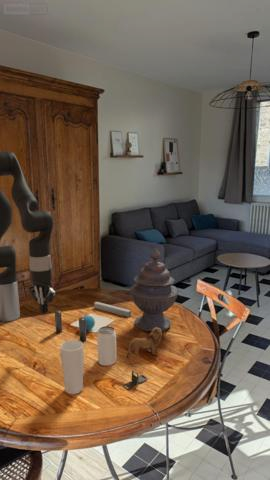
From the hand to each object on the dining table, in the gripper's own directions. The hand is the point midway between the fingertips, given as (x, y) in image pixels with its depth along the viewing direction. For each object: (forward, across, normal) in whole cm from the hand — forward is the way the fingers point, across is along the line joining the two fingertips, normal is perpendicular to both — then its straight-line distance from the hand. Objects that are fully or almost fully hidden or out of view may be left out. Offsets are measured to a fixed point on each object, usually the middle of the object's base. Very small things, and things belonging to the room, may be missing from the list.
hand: (44, 312), depth 126 cm
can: (+15, +24, +6) cm, 29 cm away
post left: (+15, -6, +13) cm, 21 cm away
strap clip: (+16, +39, +1) cm, 42 cm away
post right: (+15, +7, +13) cm, 21 cm away
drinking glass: (+15, +25, -12) cm, 32 cm away
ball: (+12, +2, +21) cm, 24 cm away
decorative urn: (+15, +24, +39) cm, 48 cm away
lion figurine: (+15, +32, +18) cm, 40 cm away
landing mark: (+15, 0, +27) cm, 31 cm away
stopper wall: (+15, 0, +41) cm, 44 cm away
